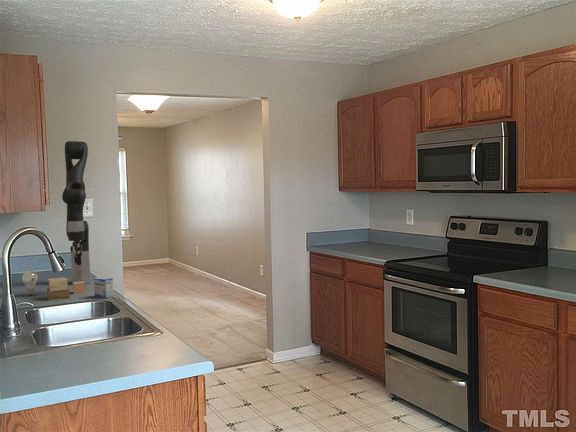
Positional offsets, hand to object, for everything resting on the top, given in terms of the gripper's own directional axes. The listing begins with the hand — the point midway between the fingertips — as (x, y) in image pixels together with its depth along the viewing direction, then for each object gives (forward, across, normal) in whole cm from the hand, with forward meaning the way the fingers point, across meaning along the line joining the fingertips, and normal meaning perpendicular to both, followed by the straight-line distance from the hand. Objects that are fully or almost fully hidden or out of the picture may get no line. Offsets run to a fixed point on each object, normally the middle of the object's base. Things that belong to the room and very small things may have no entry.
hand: (77, 263), depth 268 cm
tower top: (+10, +8, -10) cm, 16 cm away
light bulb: (+14, -7, -21) cm, 26 cm away
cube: (+14, 0, 0) cm, 14 cm away
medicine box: (+14, +18, +9) cm, 25 cm away
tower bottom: (+14, +8, -10) cm, 19 cm away
